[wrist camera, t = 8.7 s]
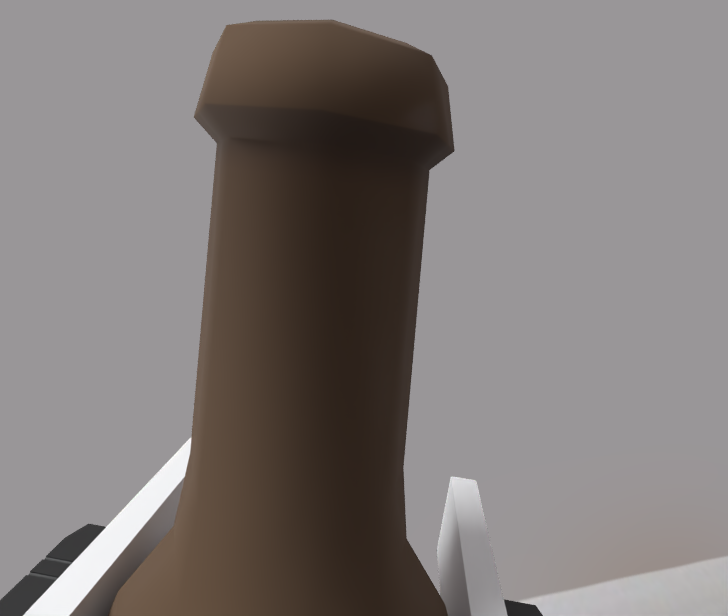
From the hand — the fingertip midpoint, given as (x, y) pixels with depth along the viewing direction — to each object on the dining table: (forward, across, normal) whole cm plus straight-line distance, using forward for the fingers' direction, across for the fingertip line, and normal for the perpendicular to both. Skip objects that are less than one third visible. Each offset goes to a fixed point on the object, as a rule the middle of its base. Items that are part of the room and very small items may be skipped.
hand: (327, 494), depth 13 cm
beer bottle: (-5, 0, -13) cm, 14 cm away
